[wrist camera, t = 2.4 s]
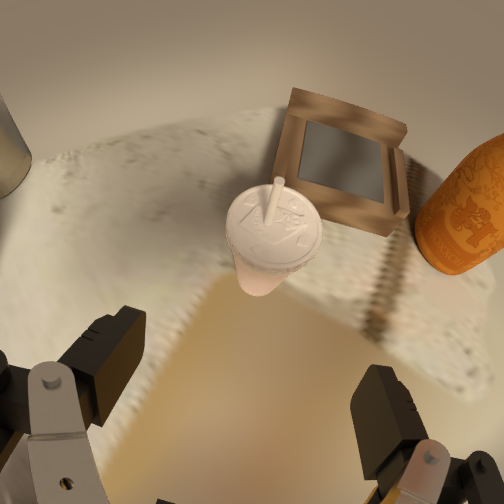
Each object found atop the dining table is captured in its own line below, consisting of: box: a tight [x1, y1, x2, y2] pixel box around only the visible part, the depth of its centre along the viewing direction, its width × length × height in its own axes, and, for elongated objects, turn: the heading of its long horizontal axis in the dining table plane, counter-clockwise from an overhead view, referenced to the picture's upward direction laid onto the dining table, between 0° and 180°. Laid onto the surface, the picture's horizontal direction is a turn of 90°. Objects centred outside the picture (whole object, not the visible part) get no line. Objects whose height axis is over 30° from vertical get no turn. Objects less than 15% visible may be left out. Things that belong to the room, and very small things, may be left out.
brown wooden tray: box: [269, 88, 410, 237], centre depth 31 cm, size 14×12×7 cm
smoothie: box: [225, 177, 322, 296], centre depth 22 cm, size 6×6×14 cm
